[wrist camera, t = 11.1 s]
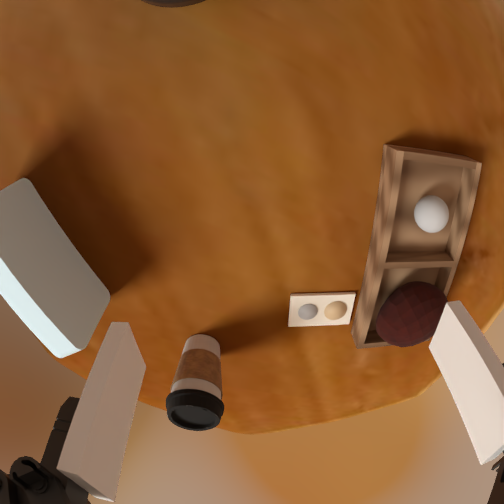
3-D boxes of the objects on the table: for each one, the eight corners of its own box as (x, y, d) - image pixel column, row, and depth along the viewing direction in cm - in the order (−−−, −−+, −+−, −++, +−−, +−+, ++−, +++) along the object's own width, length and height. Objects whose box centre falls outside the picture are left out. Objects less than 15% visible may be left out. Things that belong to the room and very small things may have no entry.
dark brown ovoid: (436, 295, 48) (461, 331, 39) (376, 329, 51) (393, 370, 42) (426, 258, 44) (455, 293, 36) (359, 296, 47) (378, 337, 39)
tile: (290, 293, 48) (291, 297, 47) (354, 291, 48) (355, 294, 47) (287, 324, 50) (288, 327, 50) (348, 321, 51) (349, 324, 50)
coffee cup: (236, 341, 52) (234, 416, 39) (213, 368, 55) (207, 439, 42) (190, 320, 50) (176, 396, 37) (170, 350, 53) (154, 422, 40)
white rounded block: (8, 195, 39) (-46, 232, 27) (27, 175, 38) (-31, 210, 26) (89, 307, 49) (59, 363, 37) (112, 295, 48) (82, 354, 36)
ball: (411, 188, 39) (428, 202, 34) (440, 191, 39) (459, 204, 35) (405, 223, 41) (421, 239, 37) (433, 223, 41) (450, 239, 37)
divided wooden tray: (383, 144, 37) (396, 150, 34) (465, 156, 37) (481, 163, 34) (350, 332, 52) (356, 348, 48) (420, 325, 52) (429, 340, 49)
